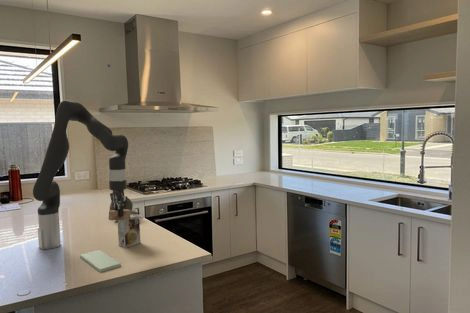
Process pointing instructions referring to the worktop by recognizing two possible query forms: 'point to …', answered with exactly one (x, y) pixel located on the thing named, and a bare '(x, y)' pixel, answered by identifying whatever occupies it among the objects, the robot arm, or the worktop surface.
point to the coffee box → (129, 231)
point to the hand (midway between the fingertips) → (119, 215)
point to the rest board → (100, 260)
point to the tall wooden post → (114, 216)
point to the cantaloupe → (128, 205)
